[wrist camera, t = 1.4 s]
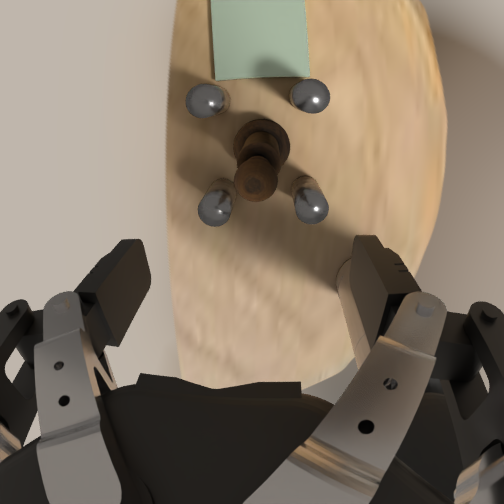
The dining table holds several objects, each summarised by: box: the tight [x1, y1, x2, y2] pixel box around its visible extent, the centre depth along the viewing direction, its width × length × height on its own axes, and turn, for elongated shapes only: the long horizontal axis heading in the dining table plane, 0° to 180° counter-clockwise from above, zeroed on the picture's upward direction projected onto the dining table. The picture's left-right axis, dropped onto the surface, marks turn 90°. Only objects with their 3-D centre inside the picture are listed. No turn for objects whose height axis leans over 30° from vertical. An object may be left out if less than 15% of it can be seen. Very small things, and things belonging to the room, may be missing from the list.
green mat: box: [211, 0, 310, 81], centre depth 27 cm, size 11×12×1 cm
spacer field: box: [186, 79, 330, 227], centre depth 32 cm, size 14×16×7 cm
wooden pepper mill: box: [234, 119, 290, 202], centre depth 27 cm, size 7×6×18 cm
